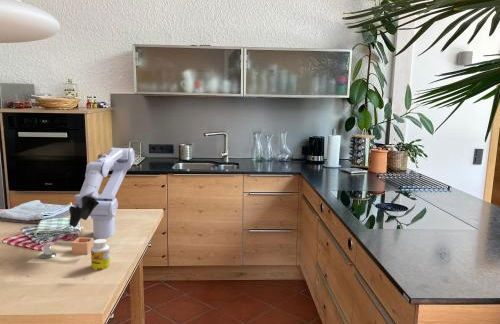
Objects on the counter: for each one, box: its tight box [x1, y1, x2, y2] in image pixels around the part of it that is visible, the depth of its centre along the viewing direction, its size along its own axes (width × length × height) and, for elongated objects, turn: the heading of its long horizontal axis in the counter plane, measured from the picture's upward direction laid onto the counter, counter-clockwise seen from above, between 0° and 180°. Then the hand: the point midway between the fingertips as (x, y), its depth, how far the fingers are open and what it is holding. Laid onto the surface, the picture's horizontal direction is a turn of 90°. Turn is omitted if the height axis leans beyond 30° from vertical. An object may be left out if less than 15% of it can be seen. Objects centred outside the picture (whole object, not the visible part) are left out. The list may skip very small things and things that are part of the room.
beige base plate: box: [25, 240, 86, 265], centre depth 137 cm, size 20×16×2 cm
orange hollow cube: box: [72, 237, 95, 255], centre depth 138 cm, size 5×5×5 cm
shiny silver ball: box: [39, 244, 56, 259], centre depth 133 cm, size 5×5×5 cm
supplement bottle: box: [90, 238, 111, 271], centre depth 126 cm, size 6×6×10 cm
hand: (77, 222), depth 132 cm, fingers open, 7 cm apart
